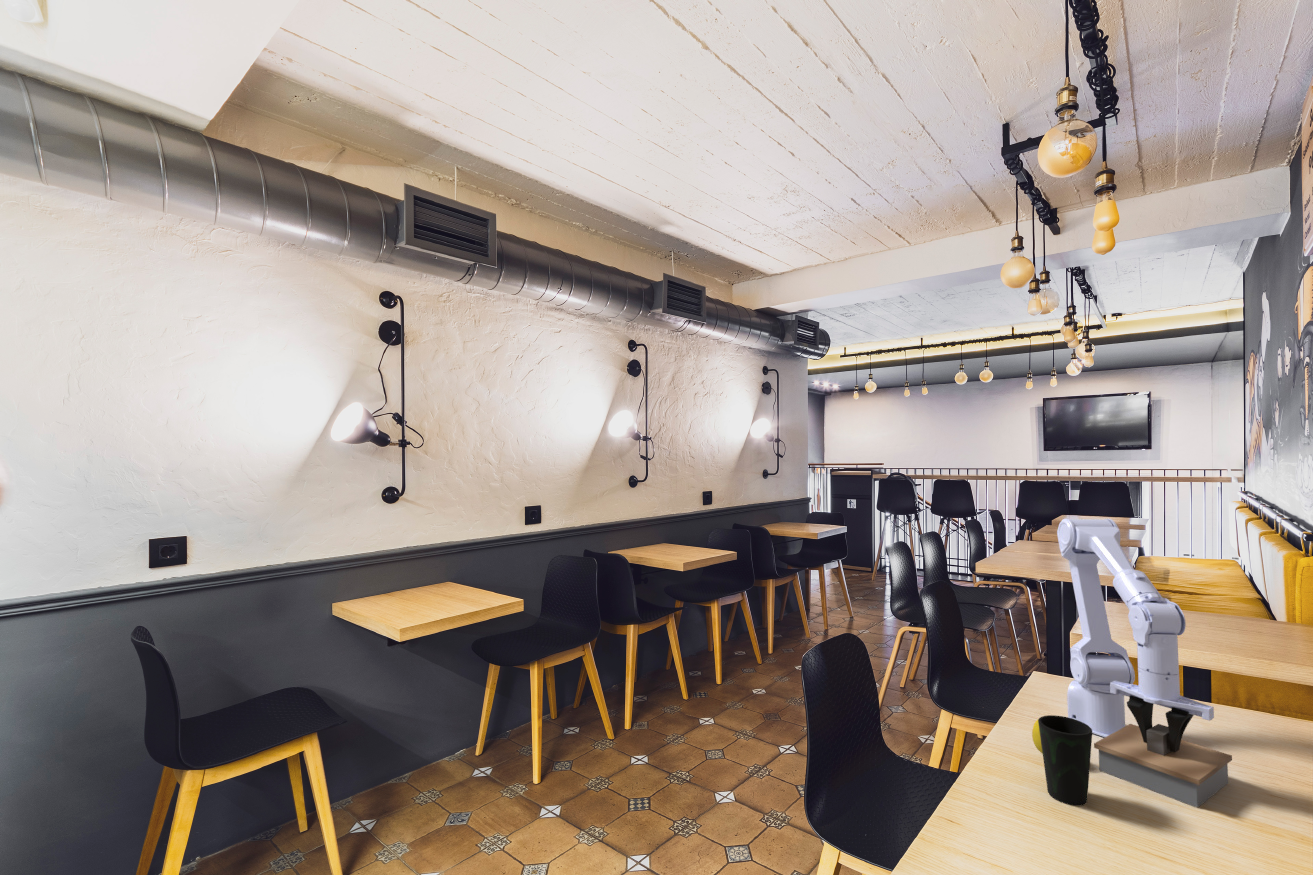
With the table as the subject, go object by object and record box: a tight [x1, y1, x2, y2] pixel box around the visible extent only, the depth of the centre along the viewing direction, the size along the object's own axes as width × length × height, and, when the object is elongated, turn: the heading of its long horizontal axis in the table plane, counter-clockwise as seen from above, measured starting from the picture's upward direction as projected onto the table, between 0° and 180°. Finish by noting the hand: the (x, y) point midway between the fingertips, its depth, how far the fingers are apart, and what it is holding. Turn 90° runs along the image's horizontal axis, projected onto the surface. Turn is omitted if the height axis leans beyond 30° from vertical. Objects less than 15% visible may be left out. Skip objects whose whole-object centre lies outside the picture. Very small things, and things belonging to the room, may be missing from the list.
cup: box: [1037, 714, 1093, 807], centre depth 103 cm, size 8×8×12 cm
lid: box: [1093, 723, 1233, 785], centre depth 108 cm, size 15×15×4 cm
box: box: [1098, 749, 1229, 808], centre depth 108 cm, size 14×14×4 cm
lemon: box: [1031, 719, 1043, 755], centre depth 115 cm, size 6×6×8 cm
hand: (1161, 745), depth 108 cm, fingers open, 3 cm apart
